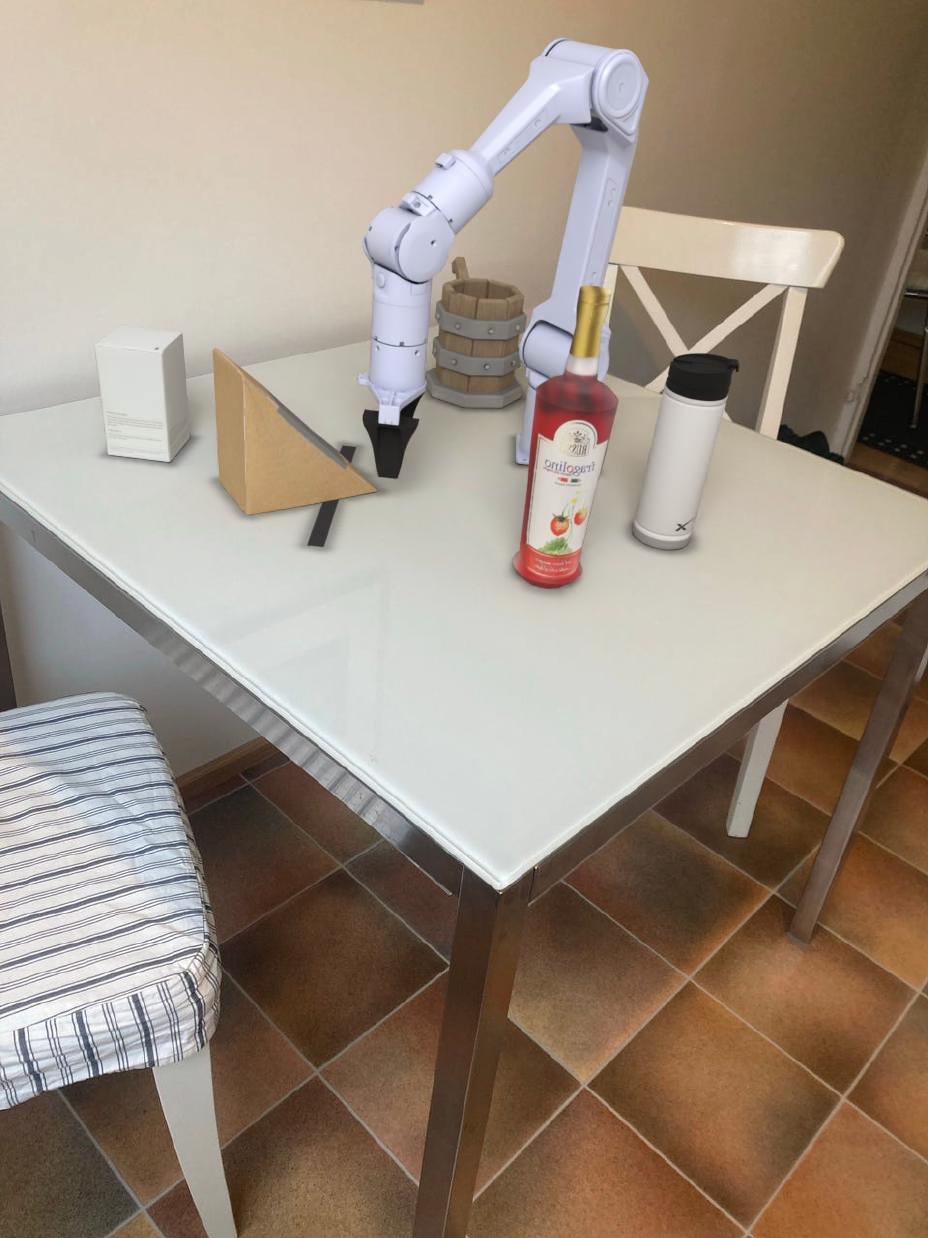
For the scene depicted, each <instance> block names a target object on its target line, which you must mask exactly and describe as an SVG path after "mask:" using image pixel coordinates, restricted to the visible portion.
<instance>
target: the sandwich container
mask: <svg viewBox="0 0 928 1238" xmlns="http://www.w3.org/2000/svg"><path fill="white" fill-rule="evenodd" d="M212 368H213V369H212V371H213V386H214V387H213V388H214V390H213V391H214V406H215V407H214V408H215V409H214V410H215V429H216V447H217V448H216V449H217V463H218V465H217V467H218V481H219V483H220V484H221V486H222V487H223V489H225V491H226V492H227V493H228V495H229V496H230V497H231V498H232V500H234V502H235V503H236V505H238V506H239V507H240V509H241V510H242V511H243V513H244V514H245V515H246V516H247V515H248V516H250V515H255V514H263V513H268V512H274V511H279V510H286V509H292V508H298V507H305V506H310V505H314V504H319V503H322V502H325V501H330V500H335V499H339V500H340V499H345V498H350V497H354V496H355V497H356V496H360V495H365V494H370V493H371V494H372V493H376V492H378V489H377V488H376V487H375V486H374V485H373V484H372V483H371V482H370V481H369V480H368V479H367V478H366V477H365V476H364V474H362V473H361V472H360V471H359V470H358V469H357V468H356V467H355V466H354V465H353V464H352V462H351V463H350V462H349V461H348V460H347V459H346V458H345V457H344V456H343V455H342V454H341V453H340V451H339V450H338V449H336V448H335V447H334V446H333V445H332V444H330V443H329V442H328V441H326V440H325V439H324V438H323V437H322V436H320V435H319V434H318V433H317V432H315V430H312V428H310V427H309V426H308V425H307V424H306V423H305V422H304V421H303V420H301V419H300V417H298V416H297V414H295V413H294V412H293V411H291V409H289V408H288V407H287V406H286V405H285V404H284V403H282V402H281V401H280V400H279V399H278V398H277V397H276V395H274V394H273V393H272V392H271V391H270V390H269V389H268V388H267V387H265V385H263V384H262V383H261V382H259V381H258V380H257V379H256V378H255V377H253V376H252V375H251V374H250V373H249V372H247V371H246V370H245V369H243V368H242V367H241V366H240V365H238V364H237V363H236V361H233V360H232V359H231V358H230V357H228V356H227V354H225V353H223V352H222V351H221V350H219V349H218V348H217V347H214V348H213V349H212Z"/></svg>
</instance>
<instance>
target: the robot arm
mask: <svg viewBox="0 0 928 1238" xmlns="http://www.w3.org/2000/svg"><path fill="white" fill-rule="evenodd" d="M527 75H528V76H527V79H526V81H524V83H523V84H522V85H521V86H520V88H519V89H518V90H517V92H515V94H514V95H513V96H512V98H511V99H510V100H509V101H508V102H507V103H506V105H504V107H503V108H502V110H500V112H499V113H498V114H497V116H496V117H495V118H494V119H493V120H492V121H491V123H489V125H488V126H487V128H486V129H485V130H484V131H483V132H482V133H481V135H480V136H479V137H478V138H477V140H476V141H475V142H474V143H473V144H472V145H471V147H470V148H469V149H460V148H459V149H456V148H455V149H452V150H450V151H449V152H448V153H446V152H442V153H441V154H440V155H439V156H438V157H437V158H436V159H435V160H434V164H435V166H434V167H433V168H432V169H431V171H429V173H428V174H427V175H426V176H425V177H424V178H423V179H422V180H421V181H420V182H419V183H418V184H417V185H416V186H415V187H414V189H412V190H411V191H410V192H407V193H405V194H404V196H402V198H401V202H400V203H399V205H397V206H396V205H394V206H393V205H392V206H391V207H385V208H384V209H382V210H380V211H379V212H378V213H377V214H376V215H375V216H374V217H373V218H372V220H371V222H370V223H369V226H368V228H367V232H366V235H362V237H361V241H362V242H361V244H362V249H363V252H364V254H365V256H366V258H367V259H368V261H369V263H370V266H371V276H370V277H371V280H373V282H372V303H371V304H372V306H371V325H370V326H371V331H370V350H369V351H370V352H369V372H365V371H362V372H359V373H358V374H357V375H358V376H357V381H356V383H357V385H358V386H359V385H360V386H364V387H367V388H368V390H369V391H370V394H372V397H373V399H374V400H375V402H376V404H377V406H378V410H376V409H375V410H374V409H364V410H363V413H362V417H361V418H362V424H363V427H364V429H365V430H366V432H367V435H368V437H369V440H370V443H371V446H372V451H373V457H374V464H375V469H376V473H377V477H379V478H384V479H392V480H397V479H398V478H399V476H400V473H401V471H402V466H403V462H404V458H405V454H406V450H407V447H408V444H409V442H410V440H411V439H412V437H413V435H414V434H415V432H416V430H417V428H418V426H419V422H420V418H417V417H414V415H415V413H416V410H417V407H418V405H419V403H420V401H421V400H422V398H423V396H424V394H425V393H426V390H427V385H426V379H425V372H427V369H426V368H427V358H428V357H427V356H428V342H429V331H430V318H431V305H432V291H433V278H434V277H436V275H437V274H439V273H441V272H442V270H443V269H444V267H445V265H446V263H447V260H448V258H449V252H450V249H451V247H452V245H453V244H454V243H455V239H456V237H457V235H458V234H459V233H460V232H461V231H462V230H463V229H464V228H465V226H466V225H467V224H468V223H470V221H472V219H473V218H474V217H475V216H476V215H477V214H478V213H479V212H480V211H481V210H482V209H483V208H484V207H485V206H486V205H487V204H488V203H489V202H490V200H491V199H492V198H493V195H494V185H495V178H496V177H497V175H499V174H500V173H501V172H502V171H503V170H504V169H505V168H506V167H508V166H509V165H510V164H511V163H512V162H513V161H514V160H515V159H516V158H517V157H518V156H520V154H522V153H523V152H524V151H525V150H526V149H527V148H528V147H530V145H532V144H533V143H534V142H535V140H537V139H539V138H540V136H541V135H542V134H544V133H545V132H546V131H547V130H548V129H549V128H550V127H552V126H556V125H557V126H558V125H568V126H569V127H570V130H571V131H572V132H573V134H574V136H575V137H576V139H577V140H578V142H579V144H580V146H581V150H582V151H581V155H580V160H579V164H578V168H577V174H576V178H575V183H574V188H573V193H572V197H571V201H570V207H569V210H568V215H567V220H566V224H565V230H564V233H563V239H562V243H561V248H560V252H559V257H558V261H557V267H556V271H555V276H554V280H553V285H552V289H551V293H550V294H551V295H550V297H549V298H547V300H544V301H543V302H542V303H540V304H539V305H536V306H535V307H534V308H533V309H532V313H531V318H530V320H529V324H528V326H527V328H525V332H523V333H522V334H523V335H522V336H521V339H520V343H519V346H518V347H519V356H520V360H521V364H522V366H523V367H524V368H526V370H525V378H526V379H528V383H527V392H526V398H525V405H524V413H523V420H522V427H521V432H520V433H518V434H516V435H515V463H517V464H519V465H528V466H529V455H530V443H531V434H532V425H533V417H534V408H535V398H536V388H537V387H538V386H539V385H540V384H542V383H543V382H545V381H547V380H548V379H550V378H552V377H554V376H559V375H564V371H565V367H566V363H567V359H568V355H569V351H570V347H571V343H572V339H573V335H574V331H575V327H576V309H577V302H578V296H579V290H580V287H581V286H599V287H603V288H604V283H605V279H606V276H607V271H608V267H609V263H610V259H611V254H612V250H613V246H614V241H615V238H616V234H617V230H618V225H619V222H620V216H621V213H622V210H623V209H622V208H623V204H624V200H625V197H626V191H627V188H628V185H629V181H630V180H629V179H630V176H631V171H632V167H633V162H634V158H635V154H636V150H637V147H638V142H639V135H640V120H641V116H642V113H643V109H644V104H645V99H646V95H647V91H648V87H649V83H650V79H649V78H648V75H647V73H646V71H645V69H644V67H643V65H642V63H641V60H640V59H639V57H638V56H637V55H636V53H634V52H633V51H632V50H630V49H627V48H612V47H607V46H606V47H605V46H601V45H596V44H591V43H585V42H580V41H575V40H573V39H572V38H569V37H558V38H556V39H554V40H552V41H551V42H550V43H549V44H547V46H546V47H545V48H544V49H543V50H542V53H541V54H539V55H538V56H537V57H535V58H534V59H533V60H532V61H531V62H530V64H529V68H528V74H527ZM611 335H612V331H611V329H610V326H609V324H608V323H607V320H605V322H604V324H603V327H602V332H601V344H600V355H599V367H598V379H597V380H598V381H600V382H602V383H603V381H604V379H605V378H606V375H607V373H608V370H609V366H610V350H609V347H610V346H609V345H610V339H611Z"/></svg>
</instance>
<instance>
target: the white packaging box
mask: <svg viewBox="0 0 928 1238" xmlns="http://www.w3.org/2000/svg"><path fill="white" fill-rule="evenodd" d="M183 334H184V333H183V332H182V331H175V330H167V329H157V328H150V327H143V326H142V327H141V326H134V325H128V324H127V325H126V324H119V325H117V326H116V327H115V328H114V329H113V330H112V331H110V332H109V333H107V335H105V336H104V337H103V338H102V339H100V340H99V341H98V342H96V343H95V344H94V345H93V350H94V356H95V364H96V371H97V378H98V379H97V380H98V387H99V397H100V404H101V413H102V420H103V429H104V435H105V443H106V451H107V455H109V456H118V457H123V458H135V459H141V460H149V461H157V462H165V463H171V461H172V460H174V458H175V457H176V456H177V454H178V453H179V452H180V451H181V450H182V449H183V447H184V446H185V445H186V443H187V442H188V441H189V440H190V438H191V431H190V430H191V429H190V417H189V415H190V414H189V404H188V403H189V402H188V388H187V375H186V361H185V359H186V358H185V348H184V335H183Z"/></svg>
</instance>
